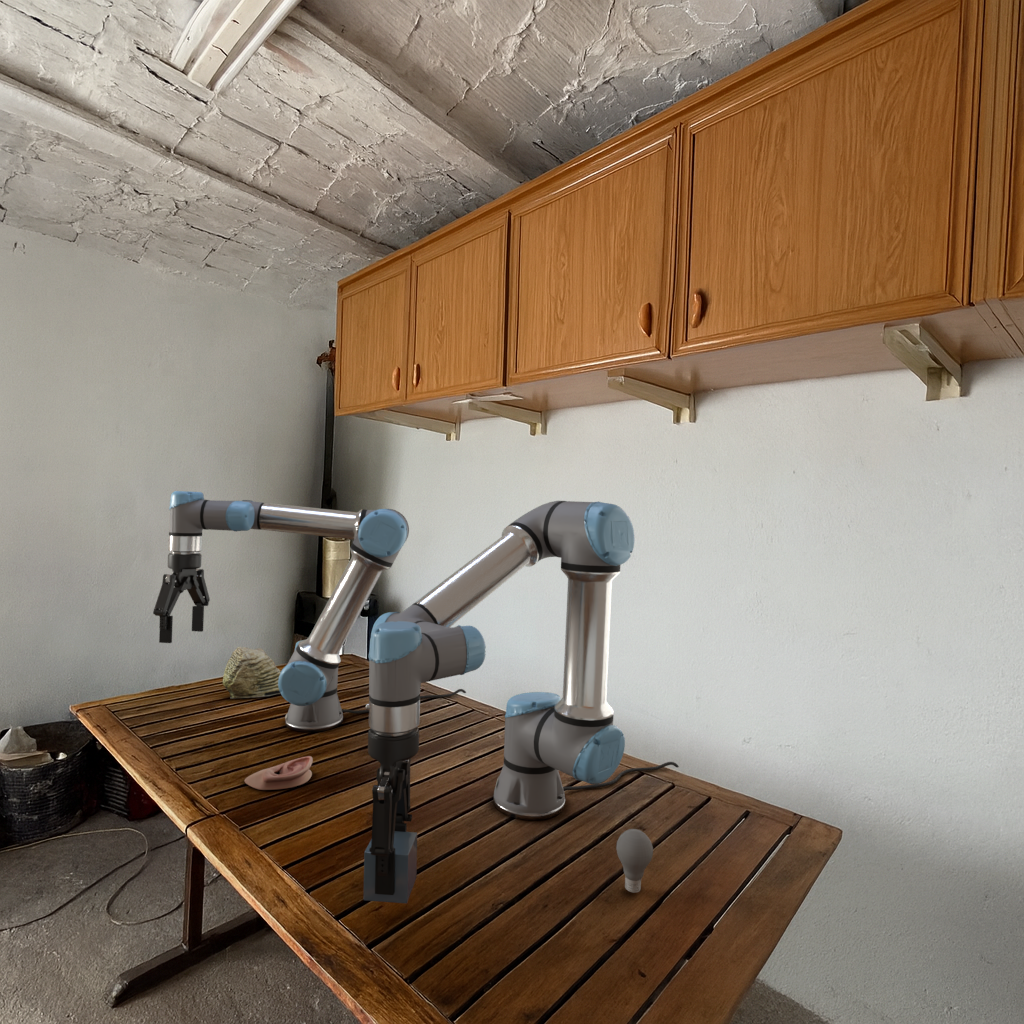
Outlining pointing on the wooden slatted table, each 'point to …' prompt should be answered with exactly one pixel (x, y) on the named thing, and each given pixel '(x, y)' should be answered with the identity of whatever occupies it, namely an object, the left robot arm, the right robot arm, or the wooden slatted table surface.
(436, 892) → the wooden slatted table surface
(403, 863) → the block
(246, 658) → the fossil
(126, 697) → the wooden slatted table surface
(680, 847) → the wooden slatted table surface
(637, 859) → the light bulb
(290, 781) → the anatomical model
